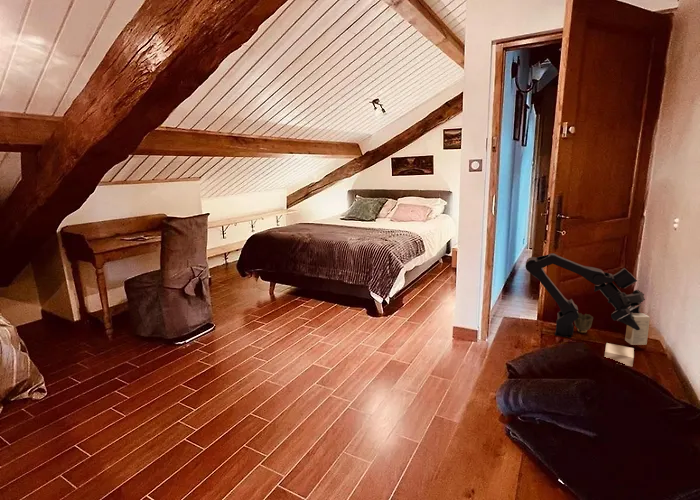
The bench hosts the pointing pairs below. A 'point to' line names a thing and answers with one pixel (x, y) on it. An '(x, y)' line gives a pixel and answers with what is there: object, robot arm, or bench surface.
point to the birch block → (620, 354)
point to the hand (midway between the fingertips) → (641, 327)
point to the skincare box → (638, 335)
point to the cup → (583, 322)
